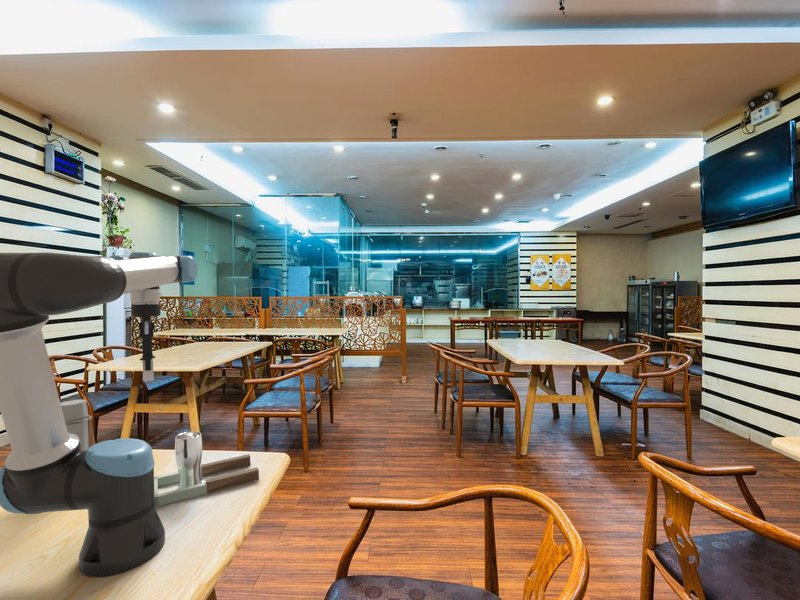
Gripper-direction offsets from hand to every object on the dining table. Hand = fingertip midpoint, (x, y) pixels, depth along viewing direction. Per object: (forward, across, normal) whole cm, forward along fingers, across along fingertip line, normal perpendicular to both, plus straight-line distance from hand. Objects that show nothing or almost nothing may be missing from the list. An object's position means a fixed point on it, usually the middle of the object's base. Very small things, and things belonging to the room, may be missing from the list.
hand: (148, 380), depth 121 cm
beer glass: (+30, -15, -9) cm, 34 cm away
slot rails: (+29, -15, -20) cm, 39 cm away
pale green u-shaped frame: (+29, -15, -6) cm, 34 cm away
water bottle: (+30, +4, +18) cm, 35 cm away
